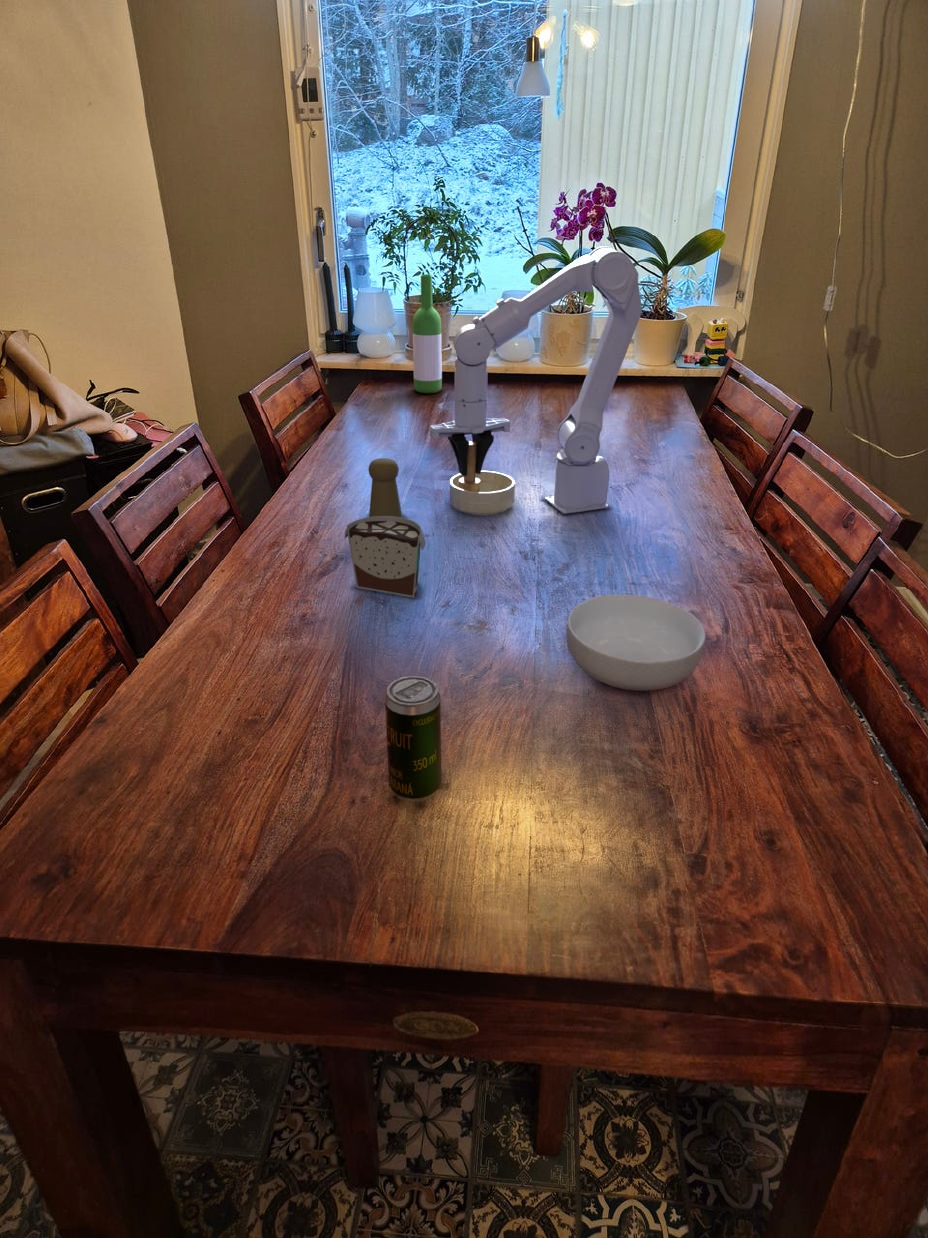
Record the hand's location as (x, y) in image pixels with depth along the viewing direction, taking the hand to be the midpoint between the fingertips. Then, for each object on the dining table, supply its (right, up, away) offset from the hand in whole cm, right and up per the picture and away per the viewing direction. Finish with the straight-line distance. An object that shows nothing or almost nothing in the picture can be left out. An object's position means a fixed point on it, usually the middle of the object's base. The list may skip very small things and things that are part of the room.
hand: (469, 473), depth 149 cm
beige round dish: (+2, -5, +4) cm, 7 cm away
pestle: (0, -3, +2) cm, 3 cm away
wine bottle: (-11, +37, +79) cm, 88 cm away
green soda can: (-6, -44, -65) cm, 79 cm away
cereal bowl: (+20, -34, -46) cm, 60 cm away
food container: (-12, -22, -25) cm, 35 cm away
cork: (-15, -9, -3) cm, 18 cm away
